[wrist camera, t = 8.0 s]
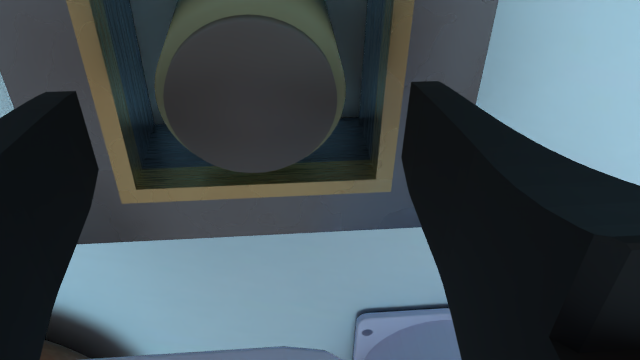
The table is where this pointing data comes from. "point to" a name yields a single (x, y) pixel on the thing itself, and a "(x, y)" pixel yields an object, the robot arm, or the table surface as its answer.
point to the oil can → (250, 81)
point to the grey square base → (221, 184)
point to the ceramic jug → (59, 352)
